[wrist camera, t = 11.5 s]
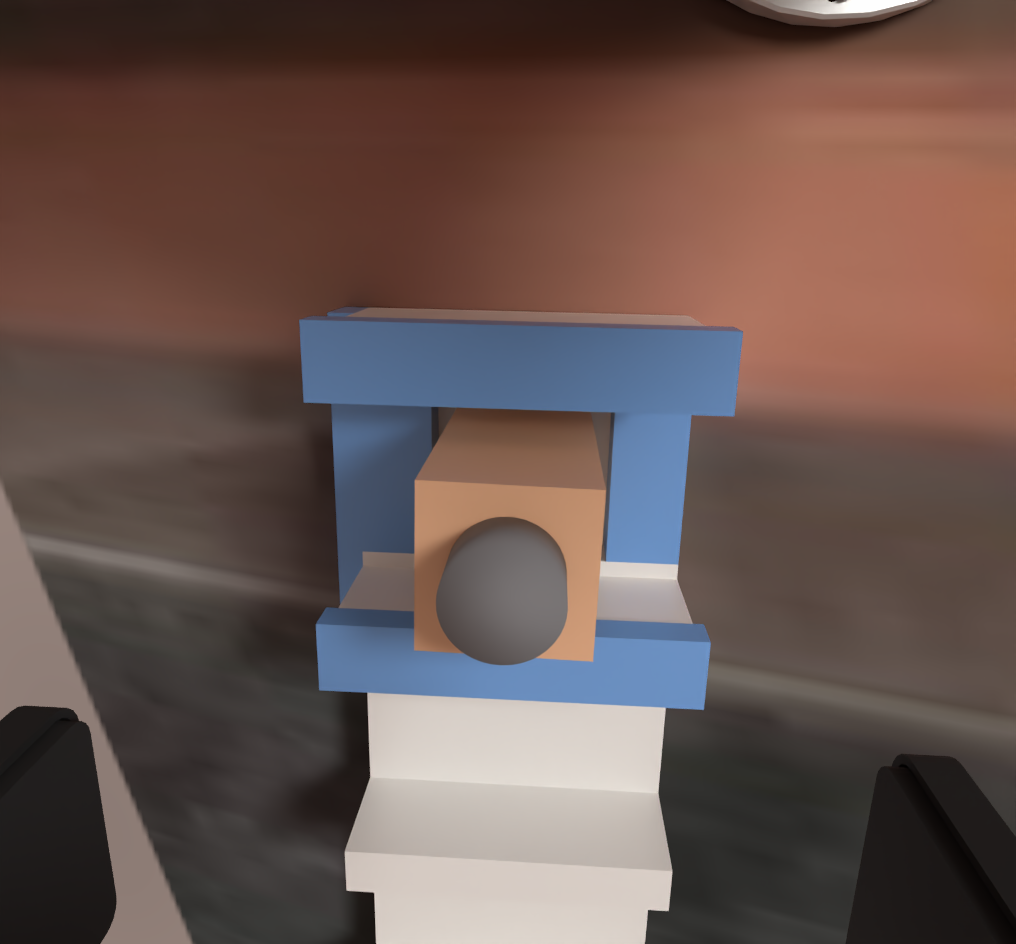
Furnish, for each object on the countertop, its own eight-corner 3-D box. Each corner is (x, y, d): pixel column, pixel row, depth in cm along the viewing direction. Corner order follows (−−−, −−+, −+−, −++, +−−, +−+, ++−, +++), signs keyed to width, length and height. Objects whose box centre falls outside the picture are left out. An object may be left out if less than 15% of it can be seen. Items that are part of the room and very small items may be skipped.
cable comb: (344, 298, 25) (274, 319, 19) (695, 307, 24) (743, 331, 18) (368, 941, 32) (324, 1108, 26) (639, 959, 32) (659, 1134, 26)
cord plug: (463, 397, 25) (400, 504, 15) (588, 403, 25) (611, 516, 15) (460, 515, 26) (401, 689, 16) (580, 521, 26) (596, 702, 16)
